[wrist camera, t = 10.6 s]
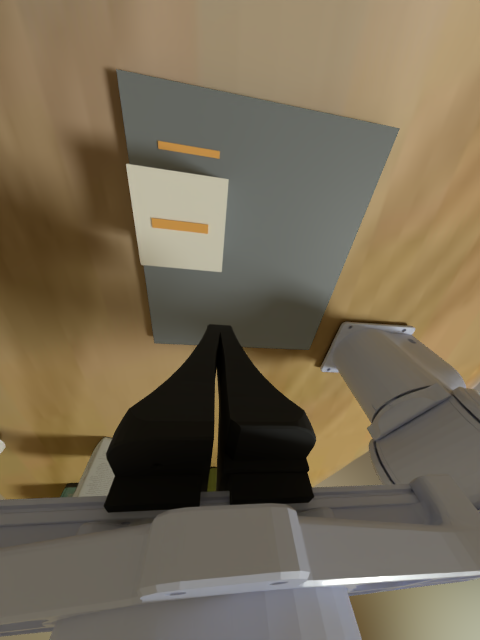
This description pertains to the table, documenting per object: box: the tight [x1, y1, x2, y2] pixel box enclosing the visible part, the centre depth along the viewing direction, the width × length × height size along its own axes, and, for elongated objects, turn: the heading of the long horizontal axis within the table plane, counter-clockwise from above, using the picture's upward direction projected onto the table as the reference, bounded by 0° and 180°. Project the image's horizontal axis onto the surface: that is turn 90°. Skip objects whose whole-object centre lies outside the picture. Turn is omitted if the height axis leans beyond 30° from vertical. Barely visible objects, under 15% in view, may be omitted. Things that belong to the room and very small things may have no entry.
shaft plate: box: [116, 69, 400, 350], centre depth 17 cm, size 18×20×4 cm
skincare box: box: [73, 437, 115, 497], centre depth 30 cm, size 6×4×12 cm
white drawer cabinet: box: [126, 164, 229, 272], centre depth 14 cm, size 5×5×5 cm
